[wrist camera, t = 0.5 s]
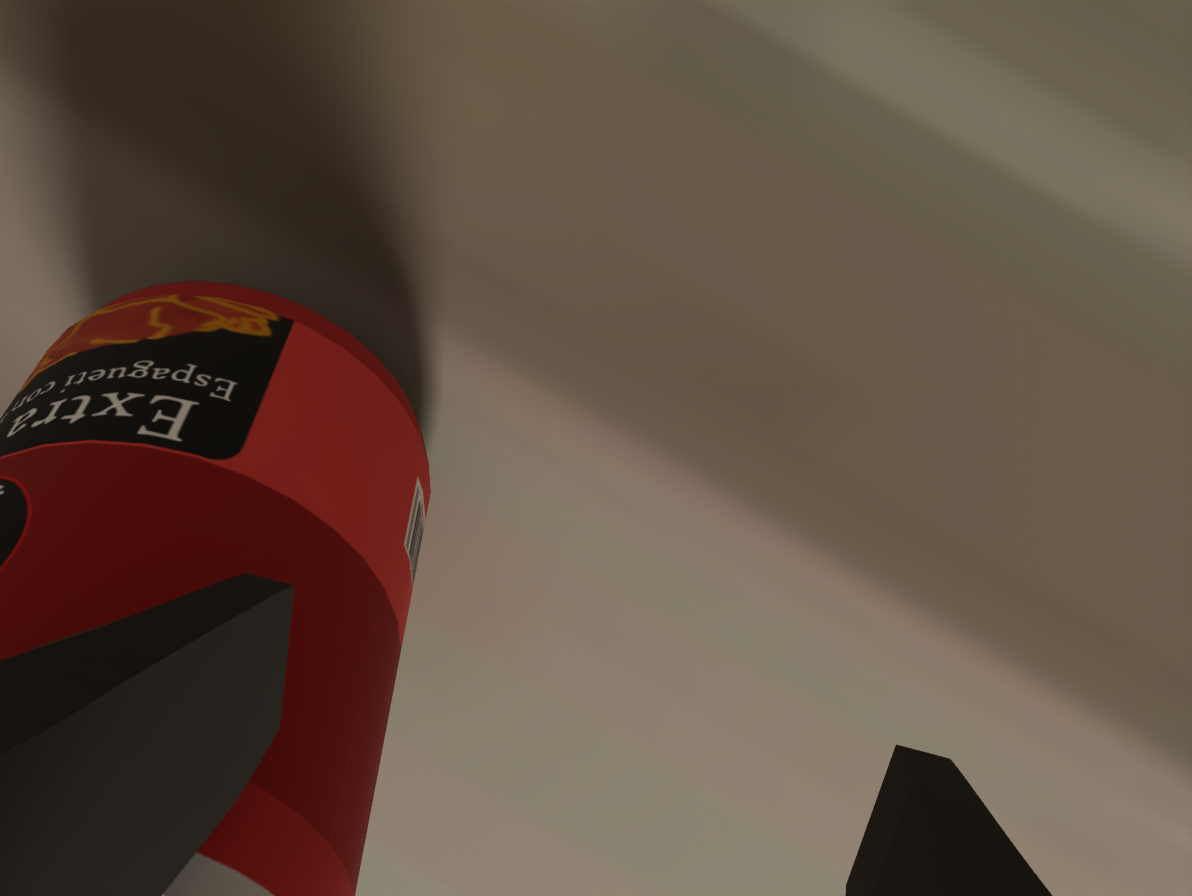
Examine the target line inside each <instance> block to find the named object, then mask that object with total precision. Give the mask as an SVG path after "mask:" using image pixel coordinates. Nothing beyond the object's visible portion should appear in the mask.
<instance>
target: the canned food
mask: <svg viewBox="0 0 1192 896" xmlns="http://www.w3.org/2000/svg"><path fill="white" fill-rule="evenodd" d="M430 493H431V490H430V477H429V463H428V459H427V454H426V450H425V445H424V441H423V436H422V433H421V430H420V427H419V424H418V421H417V418H416V415H415V412H414V409H413V407H412V405H411V404H410V402H409V400H408V399H407V397H406V395H405V393H404V392H403V390H402V388H401V386H400V385H399V383H398V381H397V380H396V379H395V378H394V377H393V375H392V374H391V373H390V372H389V371H388V370H387V368H386V367H385V366H384V365H383V364H382V363H381V361H380V360H379V359H378V358H377V357H376V356H375V355H374V354H373V353H372V352H371V351H370V350H369V349H367V348H366V347H365V346H364V345H363V344H361V343H360V342H359V341H358V340H357V339H355V338H354V337H353V336H352V335H351V334H349V333H348V332H347V331H346V330H344V329H343V328H341V327H339V326H338V325H336V324H334V323H333V322H331V321H329V320H328V319H326V318H324V317H323V316H321V315H319V314H318V313H316V312H314V311H313V310H311V309H309V308H306V307H304V306H301V305H299V304H296V303H294V302H292V301H289V300H287V299H284V298H282V297H279V296H277V295H274V294H272V293H268V292H263V291H259V290H255V289H251V288H247V287H242V286H238V285H234V284H225V283H211V282H198V281H189V282H179V283H170V284H160V285H154V286H151V287H147V288H144V289H141V290H138V291H135V292H132V293H129V294H125V295H122V296H121V297H119V298H117V299H116V300H114V301H112V302H111V303H109V304H107V305H106V306H104V307H102V308H100V309H99V310H97V311H95V312H94V313H92V314H90V315H89V316H87V317H86V318H84V319H82V320H81V321H79V322H77V323H76V324H74V325H72V326H71V327H69V328H68V329H67V330H66V331H65V332H64V333H63V334H62V335H61V336H60V337H59V339H58V340H57V341H56V342H55V343H54V344H53V345H52V346H51V347H50V348H49V349H48V350H47V352H46V353H45V355H44V356H43V357H42V359H41V360H40V362H39V363H38V365H37V366H36V368H35V369H34V371H33V372H32V374H31V375H30V376H29V378H28V379H27V381H26V382H25V384H24V385H23V387H22V388H21V390H20V391H19V393H18V394H17V395H16V397H15V398H14V400H13V401H12V403H11V404H10V406H9V407H8V409H7V410H6V412H5V413H4V414H3V416H2V417H1V419H0V660H2V659H6V658H9V657H12V656H16V655H19V654H22V653H25V652H28V651H31V650H34V649H37V648H40V647H43V646H46V645H49V644H52V643H55V642H58V641H61V640H64V639H67V638H70V637H73V636H76V635H79V634H81V633H84V632H87V631H90V630H93V629H96V628H99V627H102V626H105V625H107V624H110V623H113V622H115V621H118V620H120V619H123V618H126V617H128V616H131V615H134V614H136V613H139V612H142V611H144V610H147V609H149V608H152V607H155V606H157V605H160V604H163V603H165V602H168V601H170V600H173V599H175V598H178V597H180V596H183V595H186V594H188V593H191V592H193V591H196V590H198V589H201V588H204V587H206V586H209V585H212V584H214V583H217V582H220V581H223V580H225V579H228V578H231V577H235V576H238V575H241V574H245V573H250V574H253V575H257V576H261V577H265V578H268V579H272V580H276V581H280V582H284V583H287V584H291V585H295V587H294V597H293V606H292V616H291V625H290V635H289V644H288V654H287V663H286V673H285V682H284V692H283V701H282V711H281V720H280V728H279V730H278V732H277V733H276V735H275V737H274V739H273V740H272V742H271V744H270V746H269V747H268V749H267V751H266V753H265V754H264V756H263V758H262V760H261V761H260V763H259V765H258V767H257V768H256V770H255V772H254V773H253V775H252V776H251V778H250V780H249V781H248V783H247V785H246V786H245V788H244V790H243V791H242V793H241V795H240V796H239V798H238V799H237V800H236V802H235V803H234V804H233V806H232V807H231V808H230V810H229V811H228V812H227V813H226V815H225V816H224V817H223V819H222V820H221V821H220V822H219V824H218V825H217V826H216V828H215V829H214V830H213V831H212V833H211V834H210V835H209V837H208V838H207V839H206V840H205V842H204V843H203V844H202V846H201V847H200V848H199V849H198V851H197V852H196V853H195V855H194V856H193V857H192V858H191V860H190V861H189V862H188V863H187V865H186V866H185V867H184V868H183V870H182V871H181V872H180V873H179V875H178V876H177V877H176V878H175V880H174V881H173V882H172V884H171V885H170V886H169V887H168V889H167V890H166V891H165V892H164V894H163V895H162V896H355V892H356V887H357V881H358V876H359V871H360V865H361V860H362V855H363V849H364V844H365V839H366V833H367V828H368V823H369V817H370V812H371V807H372V801H373V796H374V791H375V785H376V780H377V775H378V770H379V764H380V759H381V754H382V748H383V743H384V738H385V732H386V727H387V722H388V716H389V711H390V706H391V700H392V695H393V690H394V684H395V679H396V674H397V668H398V663H399V658H400V652H401V647H402V642H403V636H404V631H405V626H406V620H407V615H408V610H409V605H410V599H411V594H412V589H413V583H414V578H415V573H416V567H417V562H418V557H419V551H420V546H421V541H422V535H423V530H424V525H425V519H426V514H427V509H428V503H429V498H430Z"/></svg>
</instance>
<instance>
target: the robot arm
mask: <svg viewBox="0 0 1192 896" xmlns="http://www.w3.org/2000/svg"><path fill="white" fill-rule="evenodd" d="M294 587H295V585H291V584H287V583H284V582H280V581H276V580H272V579H268V578H265V577H261V576H257V575H253V574H250V573H245V574H241V575H238V576H235V577H231V578H228V579H225V580H223V581H220V582H217V583H214V584H212V585H209V586H206V587H204V588H201V589H198V590H196V591H193V592H191V593H188V594H186V595H183V596H180V597H178V598H175V599H173V600H170V601H168V602H165V603H163V604H160V605H157V606H155V607H152V608H149V609H147V610H144V611H142V612H139V613H136V614H134V615H131V616H128V617H126V618H123V619H120V620H118V621H115V622H113V623H110V624H107V625H105V626H102V627H99V628H96V629H93V630H90V631H87V632H84V633H81V634H79V635H76V636H73V637H70V638H67V639H64V640H61V641H58V642H55V643H52V644H49V645H46V646H43V647H40V648H37V649H34V650H31V651H28V652H25V653H22V654H19V655H16V656H12V657H9V658H6V659H2V660H0V896H162V895H163V894H164V892H165V891H166V890H167V889H168V887H169V886H170V885H171V884H172V882H173V881H174V880H175V878H176V877H177V876H178V875H179V873H180V872H181V871H182V870H183V868H184V867H185V866H186V865H187V863H188V862H189V861H190V860H191V858H192V857H193V856H194V855H195V853H196V852H197V851H198V849H199V848H200V847H201V846H202V844H203V843H204V842H205V840H206V839H207V838H208V837H209V835H210V834H211V833H212V831H213V830H214V829H215V828H216V826H217V825H218V824H219V822H220V821H221V820H222V819H223V817H224V816H225V815H226V813H227V812H228V811H229V810H230V808H231V807H232V806H233V804H234V803H235V802H236V800H237V799H238V798H239V796H240V795H241V793H242V791H243V790H244V788H245V786H246V785H247V783H248V781H249V780H250V778H251V776H252V775H253V773H254V772H255V770H256V768H257V767H258V765H259V763H260V761H261V760H262V758H263V756H264V754H265V753H266V751H267V749H268V747H269V746H270V744H271V742H272V740H273V739H274V737H275V735H276V733H277V732H278V730H279V728H280V720H281V711H282V701H283V692H284V682H285V673H286V663H287V654H288V644H289V635H290V625H291V616H292V606H293V597H294ZM846 896H1052V895H1051V893H1050V892H1049V891H1048V889H1047V888H1046V887H1045V886H1044V884H1043V883H1042V882H1041V881H1040V879H1039V878H1038V877H1037V875H1036V874H1035V873H1034V871H1033V870H1032V869H1031V867H1030V866H1029V865H1028V863H1027V862H1026V861H1025V859H1024V858H1023V857H1022V855H1021V854H1020V853H1019V851H1018V850H1017V849H1016V847H1015V846H1014V845H1013V843H1012V842H1011V841H1010V839H1009V838H1008V837H1007V835H1006V834H1005V832H1004V831H1003V830H1002V828H1001V827H1000V826H999V824H998V823H997V821H996V820H995V819H994V817H993V816H992V814H991V813H990V812H989V810H988V809H987V808H986V806H985V805H984V803H983V802H982V801H981V799H980V798H979V796H978V795H977V794H976V792H975V791H974V790H973V788H972V787H971V785H970V784H969V783H968V781H967V780H966V779H965V777H964V776H963V775H962V773H961V772H960V771H959V769H958V768H957V767H956V766H955V764H954V763H953V762H952V760H951V759H949V758H945V757H941V756H937V755H934V754H930V753H926V752H922V751H919V750H915V749H911V748H907V747H903V746H900V745H896V746H895V749H894V752H893V755H892V758H891V760H890V763H889V766H888V769H887V772H886V774H885V777H884V780H883V783H882V786H881V789H880V791H879V794H878V797H877V800H876V803H875V805H874V808H873V811H872V814H871V817H870V819H869V822H868V825H867V828H866V831H865V834H864V836H863V839H862V842H861V845H860V848H859V850H858V853H857V856H856V859H855V862H854V864H853V867H852V870H851V873H850V876H849V879H848V881H847V884H846Z"/></svg>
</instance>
